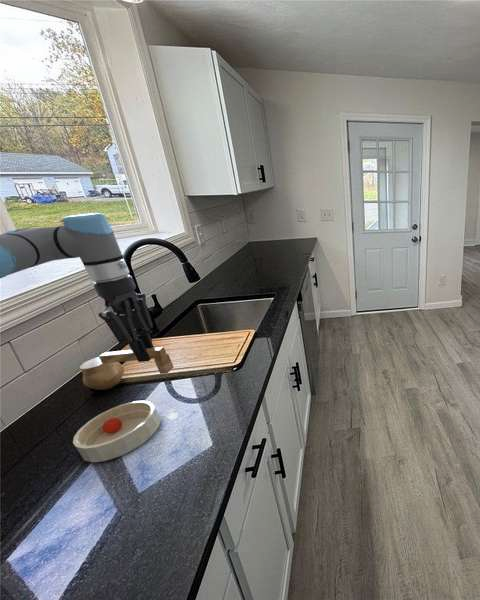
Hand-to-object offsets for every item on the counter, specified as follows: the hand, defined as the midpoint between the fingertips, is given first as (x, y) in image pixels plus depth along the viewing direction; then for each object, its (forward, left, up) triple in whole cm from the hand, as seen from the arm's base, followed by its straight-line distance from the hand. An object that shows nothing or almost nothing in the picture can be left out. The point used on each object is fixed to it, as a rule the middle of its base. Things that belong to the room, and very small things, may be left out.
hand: (147, 358), depth 87 cm
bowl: (-2, -14, -14) cm, 20 cm away
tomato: (-5, -12, -12) cm, 18 cm away
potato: (-24, +10, -15) cm, 30 cm away
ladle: (-6, 0, -5) cm, 8 cm away
